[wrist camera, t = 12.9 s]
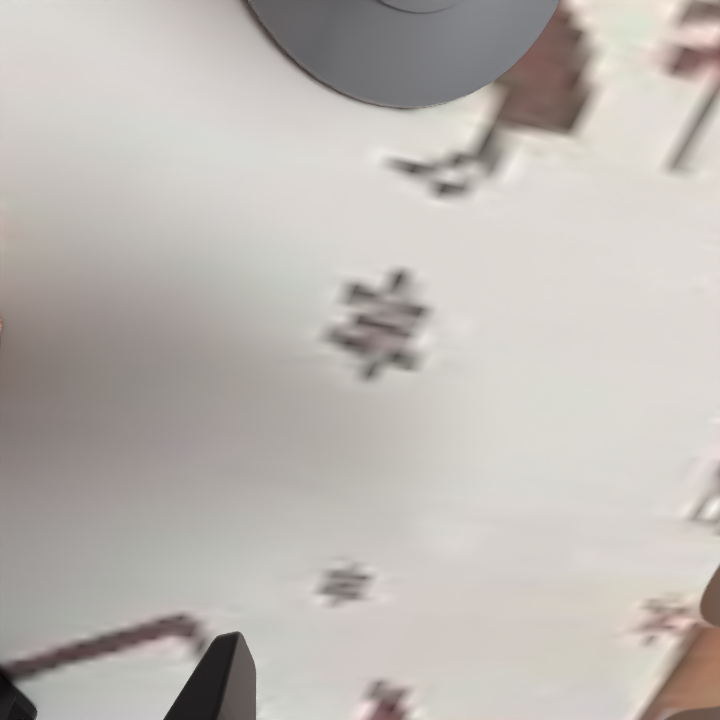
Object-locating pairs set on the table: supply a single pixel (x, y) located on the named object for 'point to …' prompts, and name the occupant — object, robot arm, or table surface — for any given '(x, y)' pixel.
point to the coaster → (404, 45)
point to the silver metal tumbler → (420, 5)
